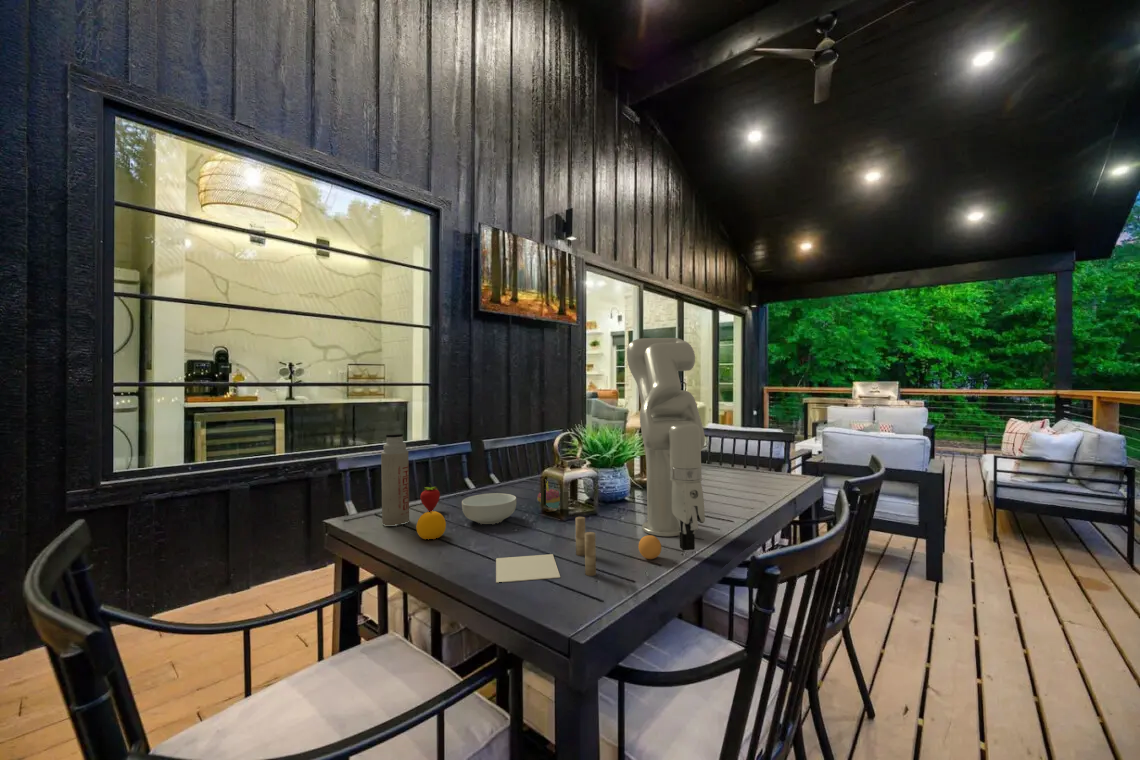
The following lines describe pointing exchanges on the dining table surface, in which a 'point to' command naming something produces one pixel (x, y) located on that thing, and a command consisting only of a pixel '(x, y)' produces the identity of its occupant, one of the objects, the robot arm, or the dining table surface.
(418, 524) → the orange round fruit
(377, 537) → the dining table surface
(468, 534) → the dining table surface
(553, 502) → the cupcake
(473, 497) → the cereal bowl
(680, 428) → the robot arm
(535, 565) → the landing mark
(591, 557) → the post
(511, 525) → the dining table surface
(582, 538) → the post
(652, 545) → the ball
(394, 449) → the thermos bottle
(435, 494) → the strawberry
